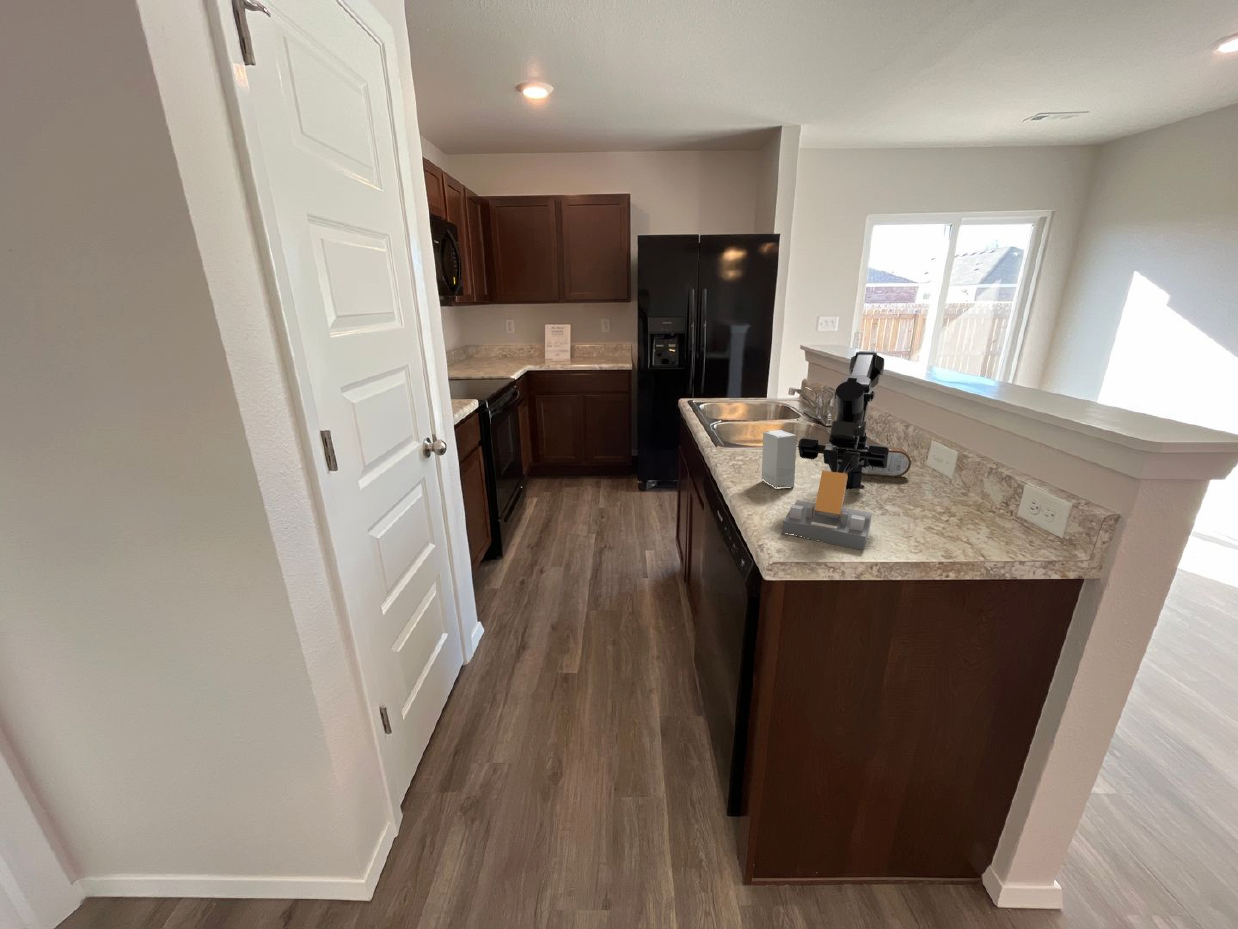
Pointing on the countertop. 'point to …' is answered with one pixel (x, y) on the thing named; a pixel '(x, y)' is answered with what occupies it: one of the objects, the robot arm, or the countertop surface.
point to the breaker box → (828, 525)
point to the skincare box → (779, 458)
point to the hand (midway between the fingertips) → (835, 484)
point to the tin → (892, 464)
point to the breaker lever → (831, 494)
